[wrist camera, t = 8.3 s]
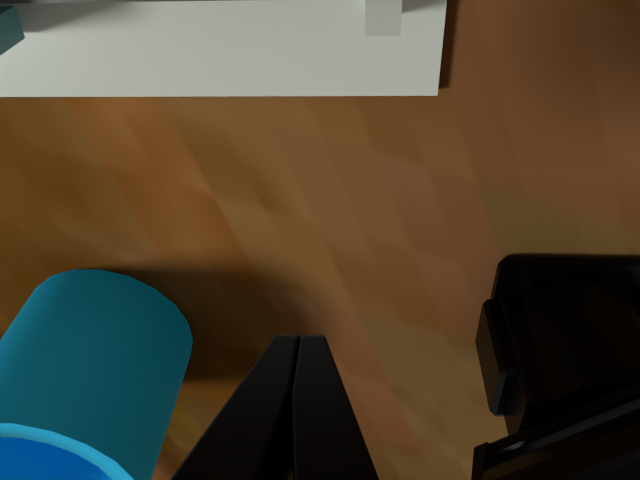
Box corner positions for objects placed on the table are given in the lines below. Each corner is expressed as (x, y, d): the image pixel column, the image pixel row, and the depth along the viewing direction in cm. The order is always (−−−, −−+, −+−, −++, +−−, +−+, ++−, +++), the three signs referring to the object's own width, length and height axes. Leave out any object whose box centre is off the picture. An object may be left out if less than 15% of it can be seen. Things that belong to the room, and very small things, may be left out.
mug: (116, 243, 25) (30, 397, 19) (225, 355, 29) (185, 513, 23) (-57, 328, 29) (-177, 478, 23) (60, 416, 33) (-14, 564, 27)
